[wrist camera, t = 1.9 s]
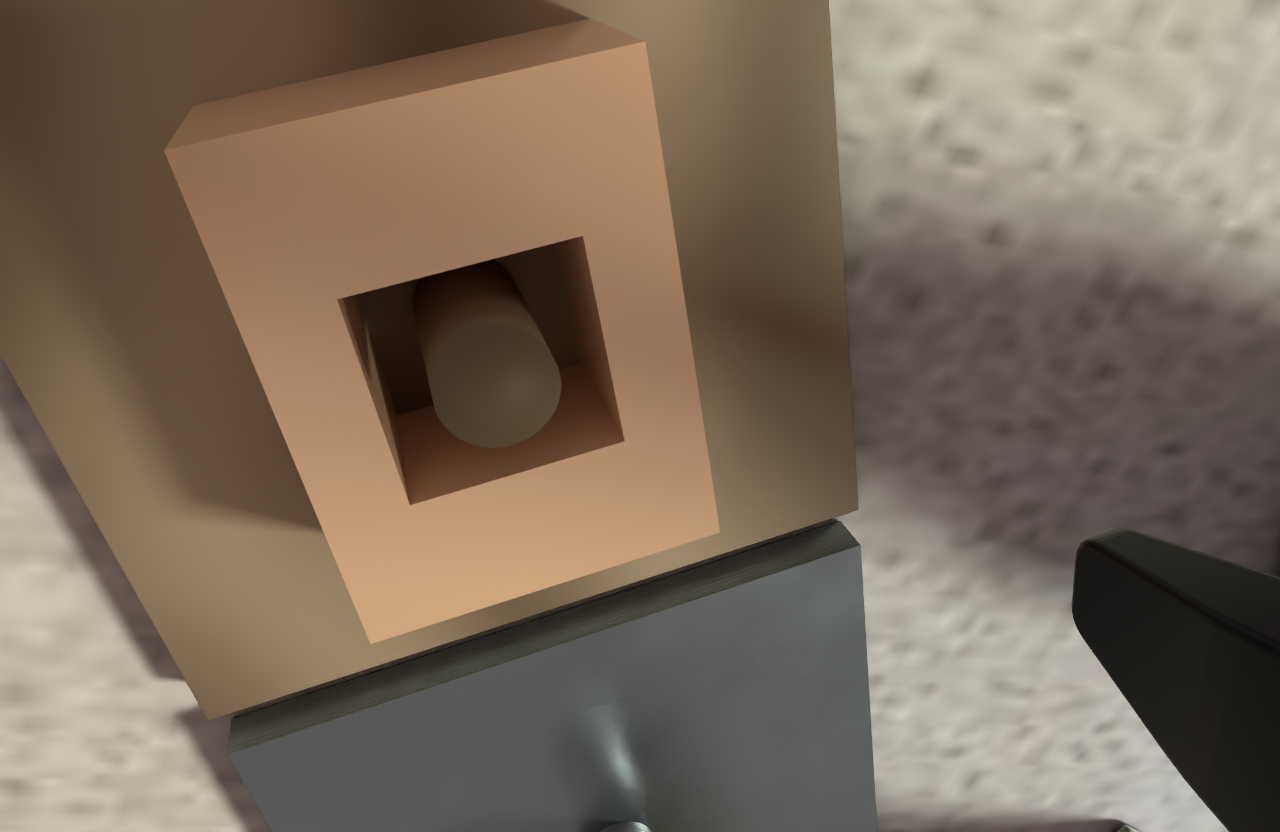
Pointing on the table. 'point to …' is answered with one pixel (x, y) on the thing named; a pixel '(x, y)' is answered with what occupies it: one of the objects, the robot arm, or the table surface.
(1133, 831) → the syrup box
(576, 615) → the hub base
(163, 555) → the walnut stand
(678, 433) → the square tube wooden block
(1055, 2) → the table surface
